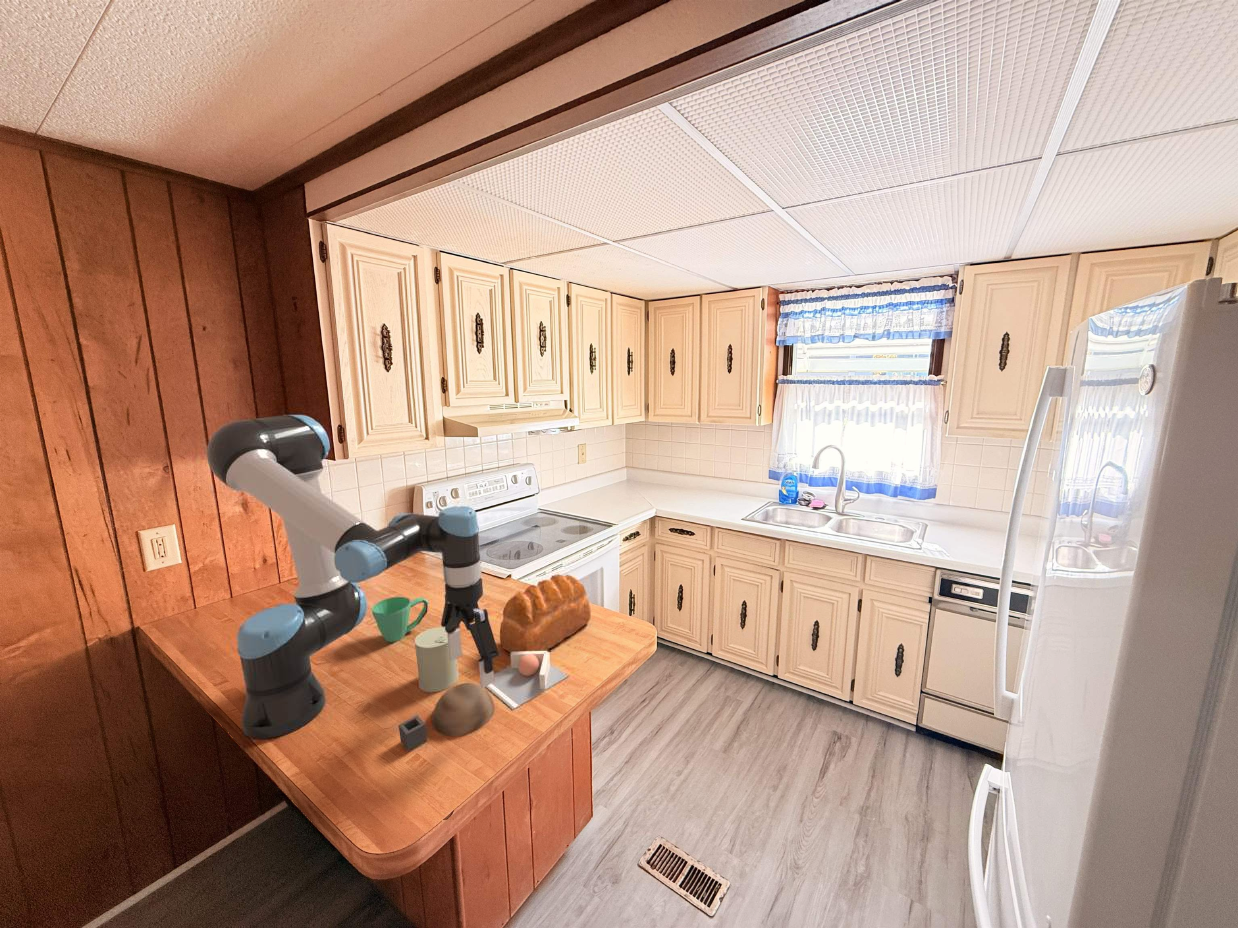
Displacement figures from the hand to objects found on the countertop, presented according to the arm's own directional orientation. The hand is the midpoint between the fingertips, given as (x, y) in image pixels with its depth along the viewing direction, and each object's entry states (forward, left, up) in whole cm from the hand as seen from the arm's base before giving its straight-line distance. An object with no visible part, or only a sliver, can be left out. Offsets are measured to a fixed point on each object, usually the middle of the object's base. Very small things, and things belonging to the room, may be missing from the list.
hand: (471, 670), depth 105 cm
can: (-1, +15, -9) cm, 18 cm away
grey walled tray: (+14, 0, -9) cm, 16 cm away
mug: (+2, +42, -9) cm, 43 cm away
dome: (-2, 0, -16) cm, 16 cm away
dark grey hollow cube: (-14, 0, -9) cm, 16 cm away
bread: (+30, +12, -9) cm, 34 cm away
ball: (+15, +1, -7) cm, 17 cm away
